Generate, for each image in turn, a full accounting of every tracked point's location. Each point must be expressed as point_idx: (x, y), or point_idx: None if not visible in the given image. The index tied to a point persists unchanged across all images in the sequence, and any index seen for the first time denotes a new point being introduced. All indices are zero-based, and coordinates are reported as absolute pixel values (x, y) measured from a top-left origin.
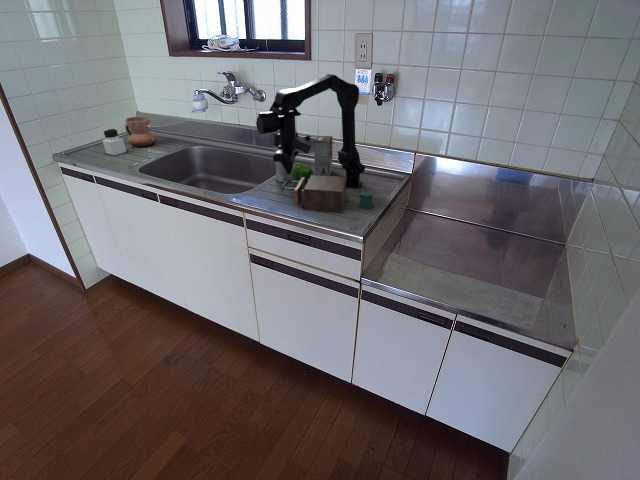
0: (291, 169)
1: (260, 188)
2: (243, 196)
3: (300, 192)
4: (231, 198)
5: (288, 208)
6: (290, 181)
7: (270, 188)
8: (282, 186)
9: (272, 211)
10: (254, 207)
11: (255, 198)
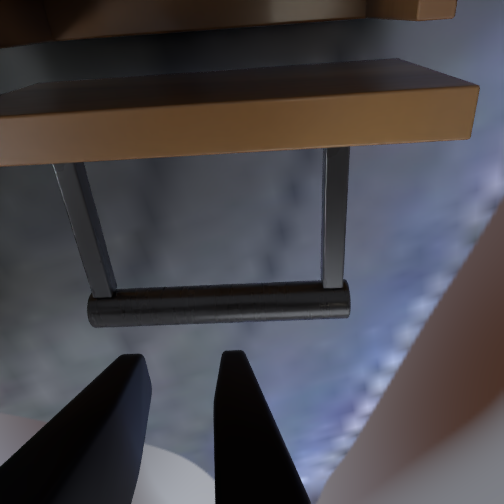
0: (124, 395)
1: None
2: None
3: (262, 81)
4: None
5: (392, 149)
6: (110, 276)
7: (67, 374)
8: (323, 315)
9: (455, 253)
10: (393, 372)
11: None
